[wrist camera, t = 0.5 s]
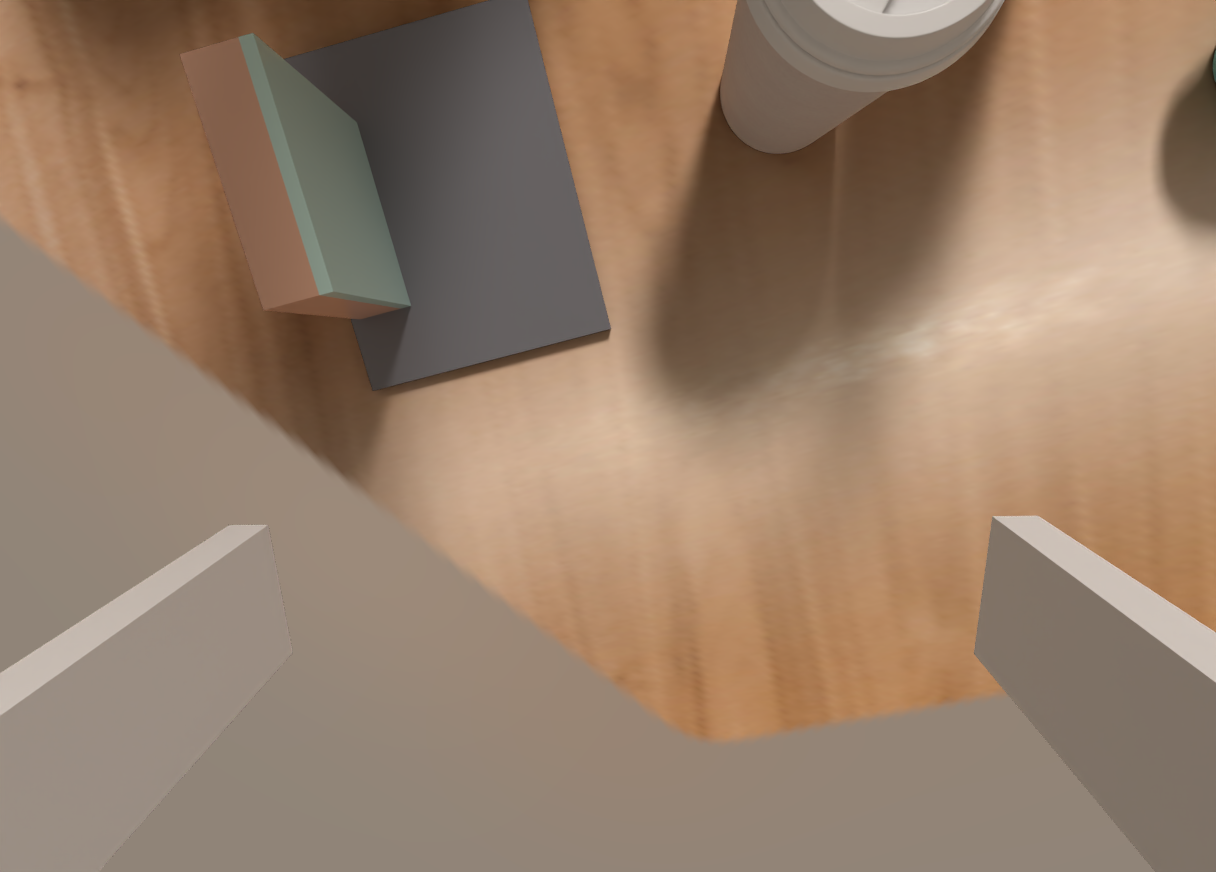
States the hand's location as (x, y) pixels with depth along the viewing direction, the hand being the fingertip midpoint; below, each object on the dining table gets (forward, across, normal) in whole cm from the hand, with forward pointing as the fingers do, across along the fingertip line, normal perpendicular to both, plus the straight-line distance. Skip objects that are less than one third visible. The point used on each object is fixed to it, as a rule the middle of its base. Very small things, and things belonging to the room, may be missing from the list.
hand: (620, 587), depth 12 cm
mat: (+27, -10, +9) cm, 30 cm away
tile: (+26, -15, +8) cm, 31 cm away
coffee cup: (+28, +8, +14) cm, 33 cm away
